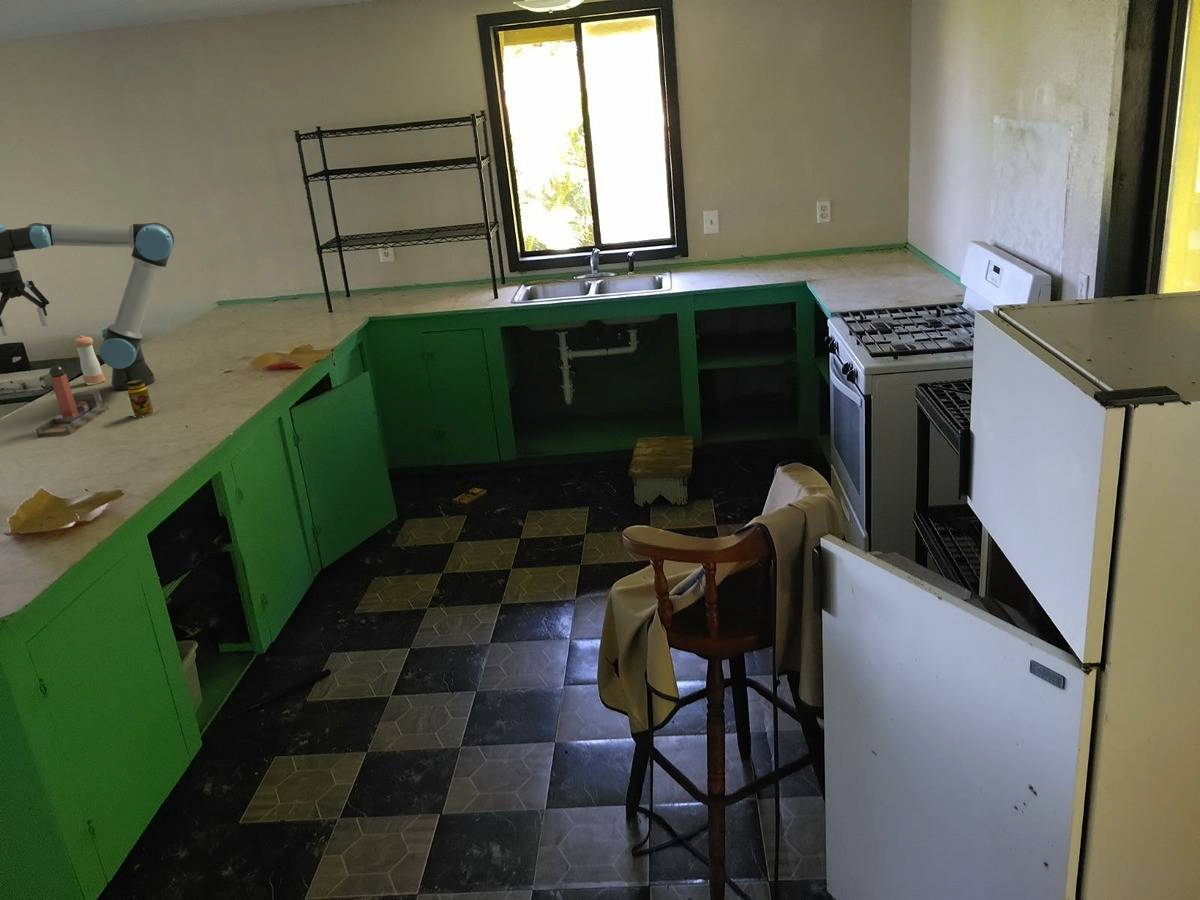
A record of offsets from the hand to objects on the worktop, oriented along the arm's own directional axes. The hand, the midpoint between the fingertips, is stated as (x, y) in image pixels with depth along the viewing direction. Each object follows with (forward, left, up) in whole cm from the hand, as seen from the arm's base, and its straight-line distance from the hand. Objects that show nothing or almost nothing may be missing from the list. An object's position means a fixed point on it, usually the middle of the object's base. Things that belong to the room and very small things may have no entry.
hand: (25, 330), depth 332 cm
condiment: (-8, +47, -29) cm, 56 cm away
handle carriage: (+7, +30, -27) cm, 41 cm away
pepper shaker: (-26, -16, -29) cm, 42 cm away
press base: (+7, +30, -29) cm, 42 cm away
